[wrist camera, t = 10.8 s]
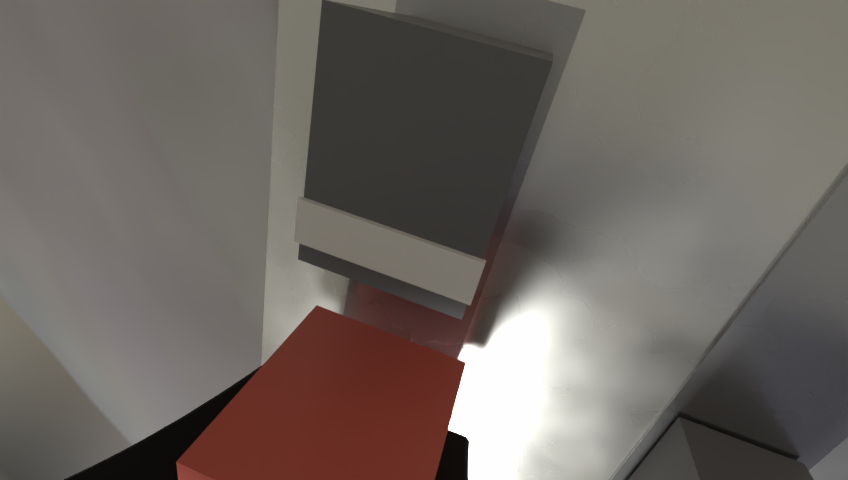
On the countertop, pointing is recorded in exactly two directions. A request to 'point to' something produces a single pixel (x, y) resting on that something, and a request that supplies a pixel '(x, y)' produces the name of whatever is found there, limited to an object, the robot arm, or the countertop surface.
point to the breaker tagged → (412, 151)
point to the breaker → (713, 458)
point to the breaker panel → (628, 235)
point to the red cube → (333, 410)
